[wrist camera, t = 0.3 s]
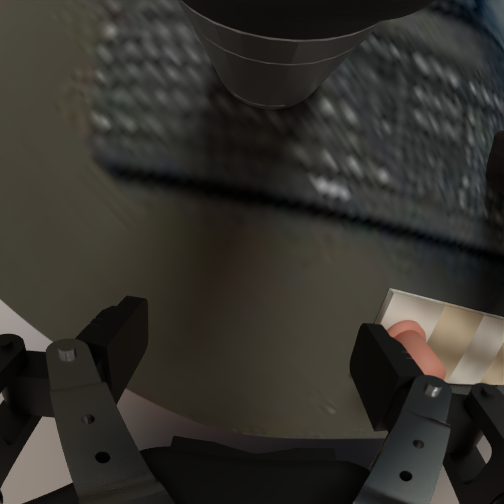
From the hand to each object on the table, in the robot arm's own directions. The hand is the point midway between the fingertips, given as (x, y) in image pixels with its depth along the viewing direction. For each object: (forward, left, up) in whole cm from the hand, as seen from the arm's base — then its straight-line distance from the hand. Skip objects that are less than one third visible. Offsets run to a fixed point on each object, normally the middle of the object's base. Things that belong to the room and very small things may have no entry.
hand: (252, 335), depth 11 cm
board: (+7, +28, -18) cm, 34 cm away
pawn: (+7, +18, -16) cm, 25 cm away
